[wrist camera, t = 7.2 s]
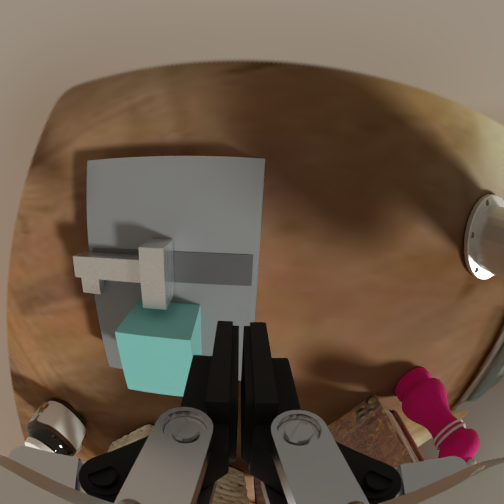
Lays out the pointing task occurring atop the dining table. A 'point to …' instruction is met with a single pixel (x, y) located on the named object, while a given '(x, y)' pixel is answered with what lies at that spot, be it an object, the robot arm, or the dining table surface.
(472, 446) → the pepper mill
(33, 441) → the spread jar
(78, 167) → the dining table surface
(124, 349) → the cube block
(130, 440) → the storage basket
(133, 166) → the base
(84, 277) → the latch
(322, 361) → the dining table surface
